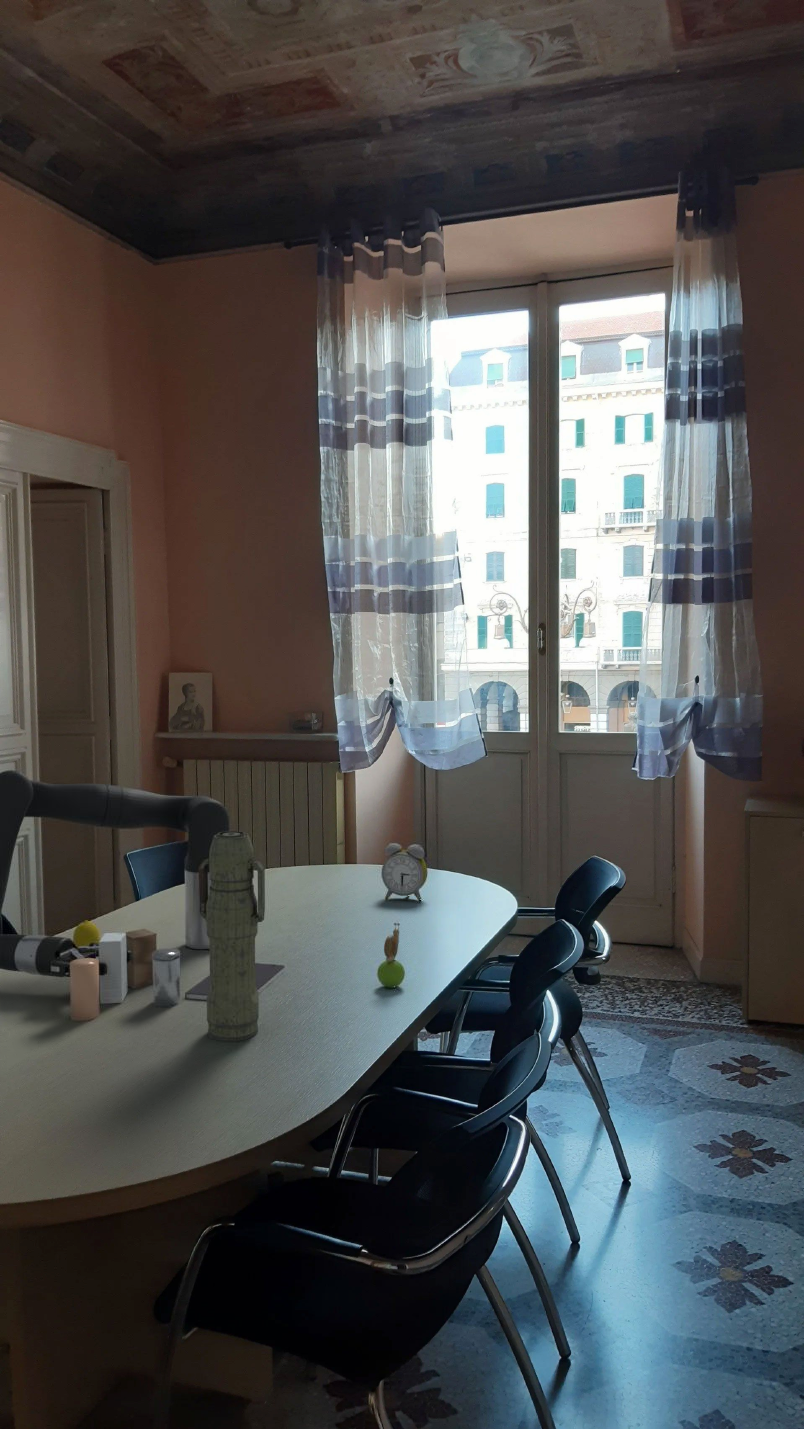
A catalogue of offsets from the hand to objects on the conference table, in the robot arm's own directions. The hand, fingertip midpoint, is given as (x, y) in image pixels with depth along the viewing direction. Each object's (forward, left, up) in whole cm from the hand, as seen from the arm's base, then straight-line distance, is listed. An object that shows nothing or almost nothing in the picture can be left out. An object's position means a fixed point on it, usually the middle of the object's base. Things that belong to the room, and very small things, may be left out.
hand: (118, 962), depth 201 cm
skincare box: (+1, -1, -7) cm, 7 cm away
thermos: (-16, +25, -7) cm, 31 cm away
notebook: (-23, -1, -8) cm, 24 cm away
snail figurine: (-51, +12, -7) cm, 53 cm away
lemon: (+3, -31, -7) cm, 32 cm away
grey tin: (-8, +5, -7) cm, 12 cm away
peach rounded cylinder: (+7, +7, -7) cm, 12 cm away
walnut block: (-5, -9, -7) cm, 12 cm away
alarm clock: (-81, -54, -7) cm, 97 cm away
